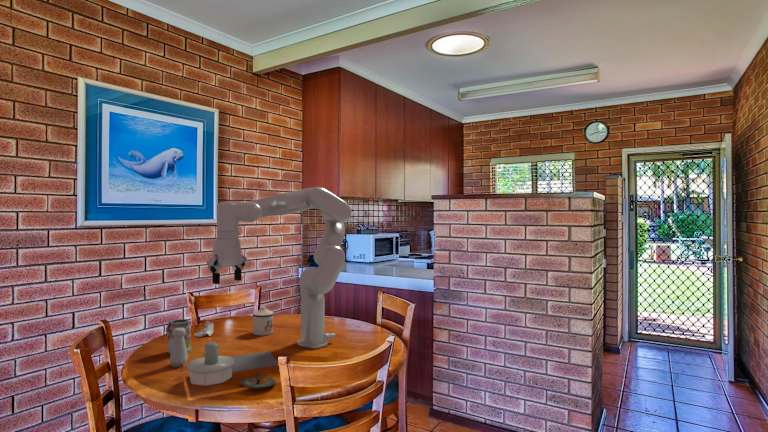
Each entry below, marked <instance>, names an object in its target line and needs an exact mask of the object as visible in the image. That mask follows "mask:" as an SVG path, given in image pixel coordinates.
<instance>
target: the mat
mask: <svg viewBox="0 0 768 432" xmlns="http://www.w3.org/2000/svg"><path fill="white" fill-rule="evenodd" d="M231 357H232V358H233V359H234V365H233V366H232V373H237V372H243V371H249V370H256V369H261V368H268V367H273V366H274V367H275V366H279V365H278V362H277V361H278V360H277V359H276V358H275V357H274V356H273V355H272V353H271V352H270V351H263V352H256V353H249V354H242V355H241V354H240V355H235V356H231Z"/></svg>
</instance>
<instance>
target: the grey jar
mask: <svg viewBox="0 0 768 432" xmlns="http://www.w3.org/2000/svg"><path fill="white" fill-rule="evenodd" d="M191 324H192V321H191V320H189V319H185V318H178V319H172V320H169V321H168V324H167V326H166V327H165V333H166V334H167V353H168V354H169V356H170V355H171V351H172V346H173V341H174V336H173V335H172V331H173V330H174V329H175V328H184V329H185V330H186V333H185V335H184V339H185V344H186V349H187V353H188V352H190V351H191V350H192V325H191Z"/></svg>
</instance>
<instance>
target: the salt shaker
mask: <svg viewBox="0 0 768 432" xmlns="http://www.w3.org/2000/svg"><path fill="white" fill-rule="evenodd" d="M185 333H186V330H185V329H184V328H175V329H174V330H173V331H172V335H173V336H174V341H173V346H172V351H171V355H170V354H169V356H170V357H169V362H170V364H171V366H172V367H173V368H181V367H184V364H186V363H187V361H188V359H189V355H188V352H187V349H186V344H185V339H184V335H185Z"/></svg>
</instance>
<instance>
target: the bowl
mask: <svg viewBox="0 0 768 432" xmlns="http://www.w3.org/2000/svg"><path fill="white" fill-rule="evenodd" d="M232 377H233V372H232V367H230V368H228V369H226V370H223V371H219V372H213V373H194V372H191V371H189V380H190V383H191V384H192V385H197V386H204V387H205V386H206V387H207V386H211V385H212V386H213V385H218V384H222V383H224V382H227V381H228V380H230V379H231V378H232Z"/></svg>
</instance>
